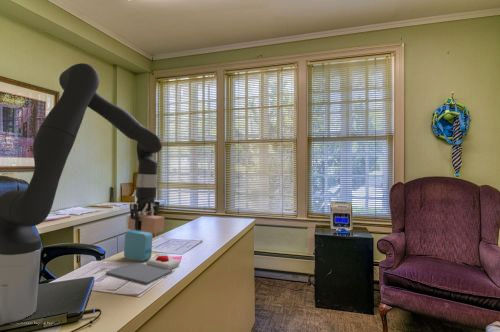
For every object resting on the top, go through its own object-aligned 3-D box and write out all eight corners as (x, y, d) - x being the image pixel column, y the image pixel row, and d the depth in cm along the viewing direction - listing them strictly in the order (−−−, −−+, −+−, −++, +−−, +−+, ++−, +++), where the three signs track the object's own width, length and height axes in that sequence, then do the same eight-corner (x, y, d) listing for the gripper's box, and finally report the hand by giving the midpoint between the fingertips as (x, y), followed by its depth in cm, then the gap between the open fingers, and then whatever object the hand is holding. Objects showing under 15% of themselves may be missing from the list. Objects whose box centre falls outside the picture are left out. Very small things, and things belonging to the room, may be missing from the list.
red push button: (183, 255, 120) (167, 261, 111) (183, 265, 120) (167, 272, 111) (162, 250, 126) (145, 256, 117) (161, 260, 125) (144, 266, 116)
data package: (151, 259, 125) (153, 232, 125) (144, 262, 121) (145, 234, 121) (131, 255, 129) (132, 229, 130) (123, 257, 125) (125, 231, 125)
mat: (147, 284, 97) (147, 282, 97) (105, 274, 105) (106, 271, 105) (172, 272, 110) (172, 270, 110) (134, 263, 118) (134, 261, 118)
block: (163, 230, 108) (136, 226, 113) (164, 216, 108) (137, 213, 113) (154, 233, 103) (125, 228, 108) (155, 218, 103) (126, 214, 108)
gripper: (151, 184, 116) (149, 225, 116) (125, 185, 103) (121, 230, 103) (166, 186, 114) (163, 227, 113) (140, 186, 100) (137, 233, 100)
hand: (143, 228), depth 108 cm, fingers closed on block, 5 cm apart
